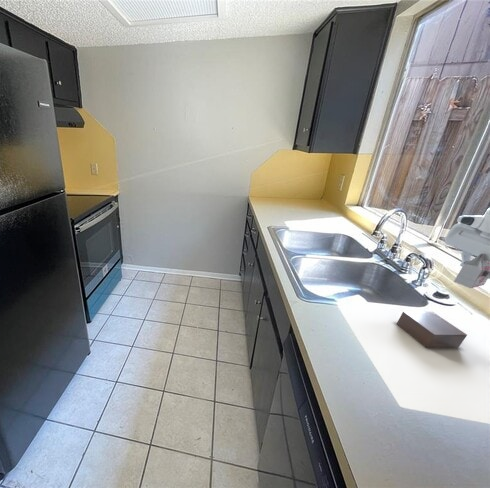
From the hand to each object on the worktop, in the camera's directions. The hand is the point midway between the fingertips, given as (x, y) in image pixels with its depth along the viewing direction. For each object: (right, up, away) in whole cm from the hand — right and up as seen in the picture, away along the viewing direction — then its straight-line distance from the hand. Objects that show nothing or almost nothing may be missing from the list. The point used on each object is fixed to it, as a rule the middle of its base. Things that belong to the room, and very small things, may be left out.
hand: (475, 272), depth 74 cm
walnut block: (-9, -20, +6) cm, 23 cm away
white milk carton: (0, -4, +2) cm, 4 cm away
